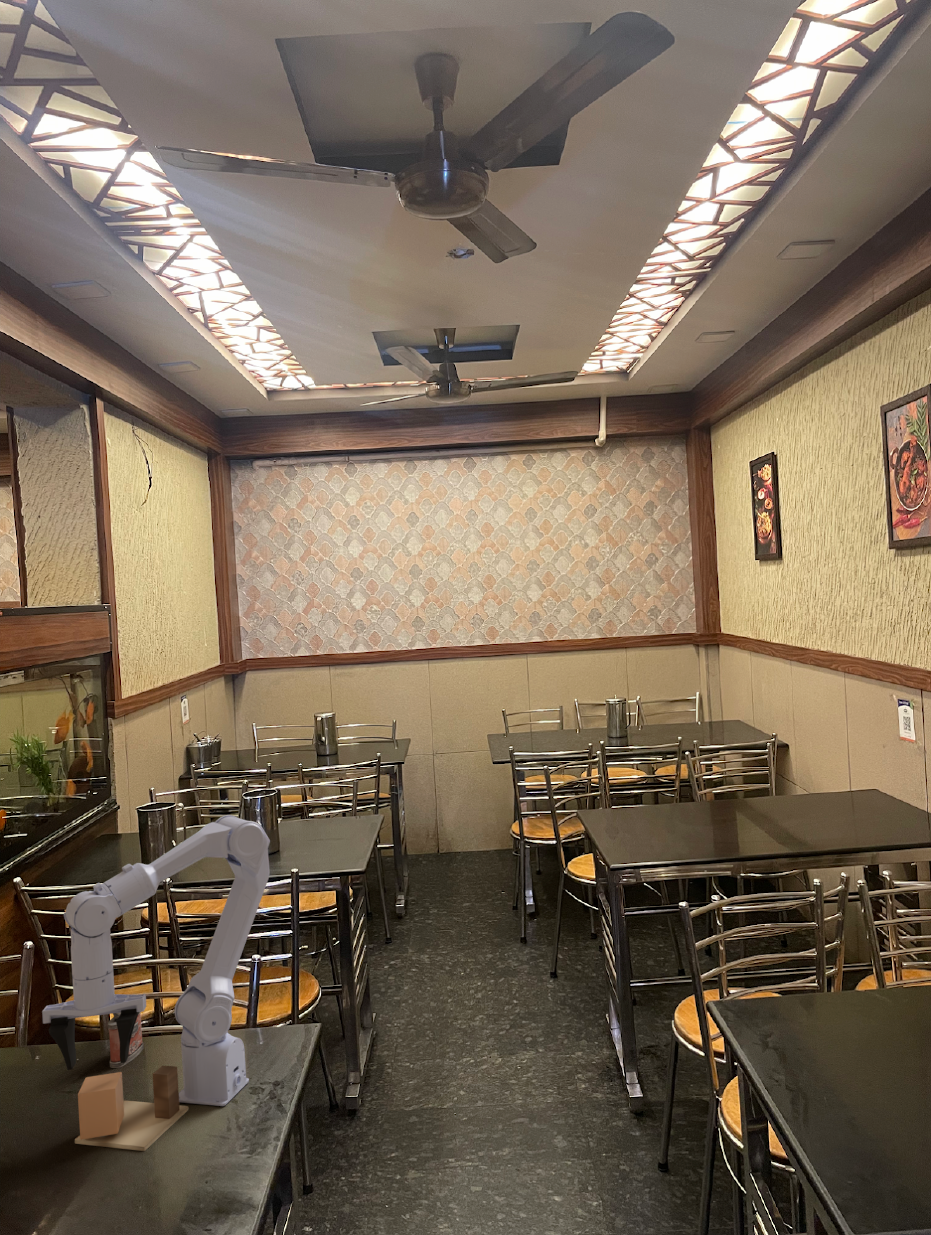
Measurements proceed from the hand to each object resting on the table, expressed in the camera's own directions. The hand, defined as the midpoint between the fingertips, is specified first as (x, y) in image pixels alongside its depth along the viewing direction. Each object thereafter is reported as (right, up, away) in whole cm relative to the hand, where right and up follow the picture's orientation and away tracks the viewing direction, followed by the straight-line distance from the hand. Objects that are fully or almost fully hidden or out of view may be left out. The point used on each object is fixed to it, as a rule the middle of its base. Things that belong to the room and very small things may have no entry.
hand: (98, 1063), depth 133 cm
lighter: (-5, -12, +25) cm, 28 cm away
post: (+10, -10, +3) cm, 14 cm away
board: (+5, -10, +1) cm, 11 cm away
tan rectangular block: (+1, -9, -1) cm, 9 cm away
